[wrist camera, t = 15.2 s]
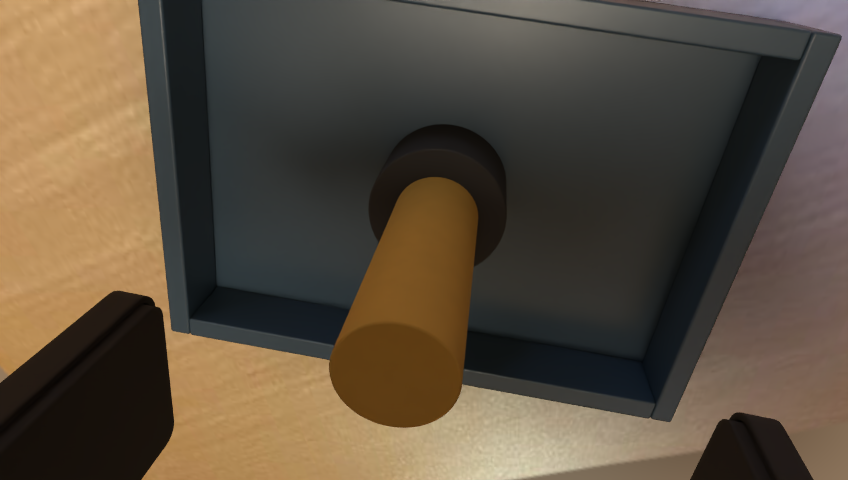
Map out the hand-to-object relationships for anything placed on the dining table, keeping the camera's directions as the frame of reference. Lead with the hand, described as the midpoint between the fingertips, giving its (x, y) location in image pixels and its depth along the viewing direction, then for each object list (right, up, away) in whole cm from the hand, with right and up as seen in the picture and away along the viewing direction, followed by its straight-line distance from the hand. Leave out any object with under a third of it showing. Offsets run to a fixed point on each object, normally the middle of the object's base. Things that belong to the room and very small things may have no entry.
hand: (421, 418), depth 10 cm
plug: (+1, +5, +9) cm, 10 cm away
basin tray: (+1, +5, +10) cm, 11 cm away
